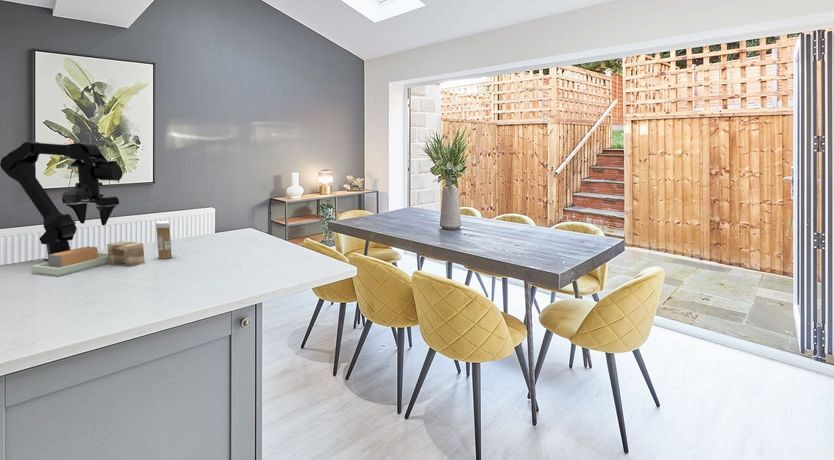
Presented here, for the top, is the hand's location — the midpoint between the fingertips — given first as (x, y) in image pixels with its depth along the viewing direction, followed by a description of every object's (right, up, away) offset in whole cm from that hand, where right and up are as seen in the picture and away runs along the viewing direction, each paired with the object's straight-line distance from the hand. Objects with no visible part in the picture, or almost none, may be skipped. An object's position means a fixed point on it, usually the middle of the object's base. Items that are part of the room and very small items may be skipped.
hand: (93, 224), depth 162 cm
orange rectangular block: (-1, -14, -8) cm, 16 cm away
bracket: (+12, -14, -1) cm, 18 cm away
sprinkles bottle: (+21, -12, +9) cm, 26 cm away
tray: (-1, -14, -7) cm, 16 cm away
